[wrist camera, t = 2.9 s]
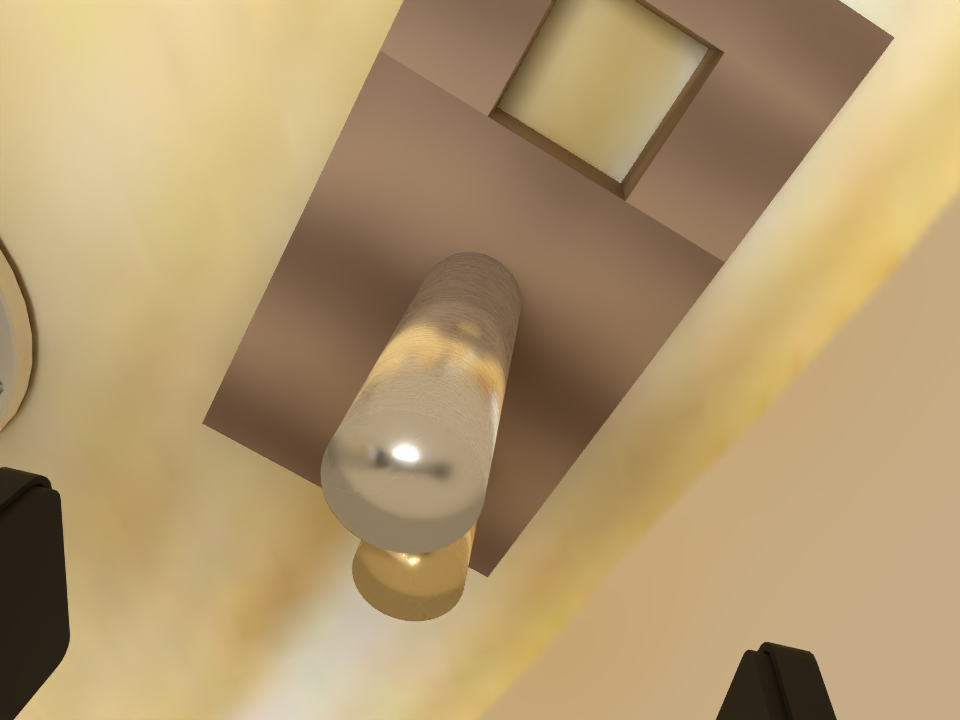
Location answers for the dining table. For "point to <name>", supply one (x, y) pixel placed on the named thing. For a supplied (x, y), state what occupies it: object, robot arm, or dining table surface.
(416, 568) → the short brass pin
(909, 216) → the dining table surface
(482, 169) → the hole board
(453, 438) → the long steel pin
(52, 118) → the dining table surface
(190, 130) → the dining table surface
